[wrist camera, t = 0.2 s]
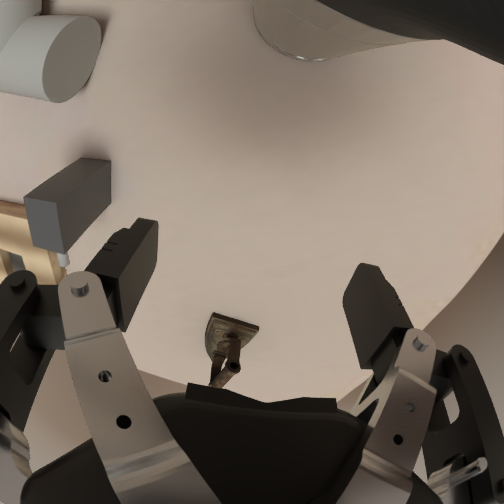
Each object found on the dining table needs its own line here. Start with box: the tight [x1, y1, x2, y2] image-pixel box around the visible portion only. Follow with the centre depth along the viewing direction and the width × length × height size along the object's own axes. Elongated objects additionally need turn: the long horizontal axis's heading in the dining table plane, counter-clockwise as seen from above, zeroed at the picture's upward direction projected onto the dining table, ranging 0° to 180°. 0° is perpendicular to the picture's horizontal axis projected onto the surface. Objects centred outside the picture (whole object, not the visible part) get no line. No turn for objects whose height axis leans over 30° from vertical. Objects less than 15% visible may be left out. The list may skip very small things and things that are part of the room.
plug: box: [23, 158, 111, 267], centre depth 24 cm, size 8×4×10 cm, turn 168°
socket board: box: [0, 201, 67, 285], centre depth 32 cm, size 20×18×4 cm
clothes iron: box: [205, 313, 259, 388], centre depth 39 cm, size 7×11×10 cm, turn 157°
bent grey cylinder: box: [0, 0, 101, 103], centre depth 12 cm, size 18×11×20 cm
